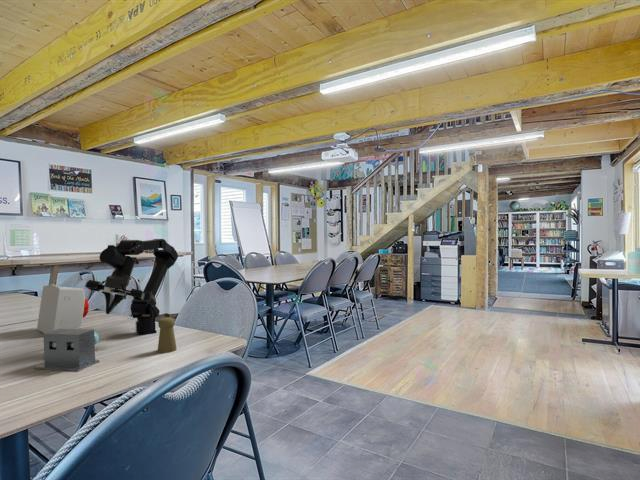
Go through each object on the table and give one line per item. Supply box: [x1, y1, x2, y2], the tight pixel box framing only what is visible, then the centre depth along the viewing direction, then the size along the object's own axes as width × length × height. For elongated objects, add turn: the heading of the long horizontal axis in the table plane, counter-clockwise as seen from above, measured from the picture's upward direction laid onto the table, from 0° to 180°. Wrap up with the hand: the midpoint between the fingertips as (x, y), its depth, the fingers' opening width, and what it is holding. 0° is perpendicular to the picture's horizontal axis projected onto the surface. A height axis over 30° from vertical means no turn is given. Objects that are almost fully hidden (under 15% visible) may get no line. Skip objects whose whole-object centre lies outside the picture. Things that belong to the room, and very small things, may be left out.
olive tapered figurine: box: [157, 316, 177, 354], centre depth 127 cm, size 6×6×11 cm
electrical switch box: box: [36, 283, 90, 334], centre depth 158 cm, size 15×15×20 cm
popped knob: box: [71, 331, 100, 348], centre depth 115 cm, size 8×4×4 cm, turn 170°
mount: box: [33, 328, 100, 372], centre depth 113 cm, size 8×15×10 cm, turn 80°
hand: (107, 313), depth 132 cm, fingers closed
